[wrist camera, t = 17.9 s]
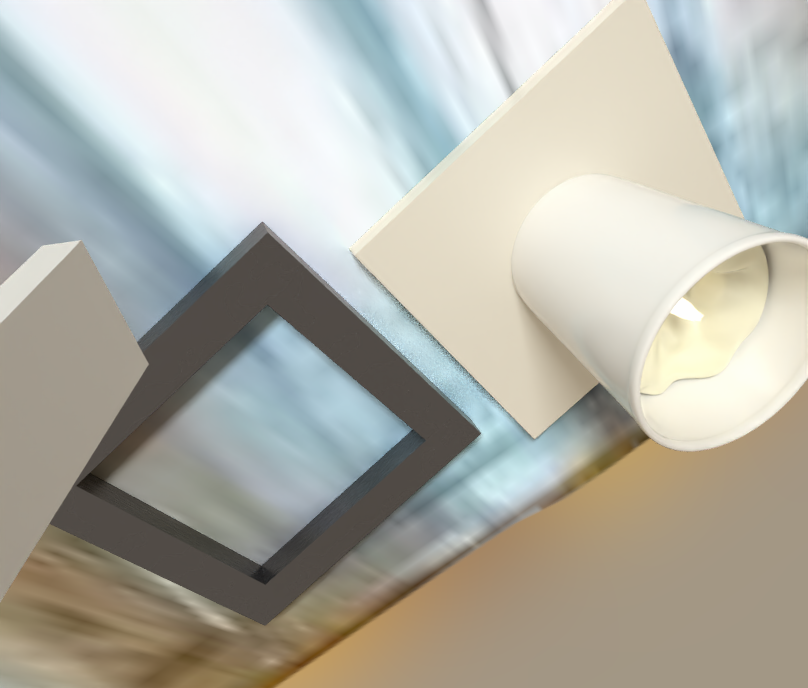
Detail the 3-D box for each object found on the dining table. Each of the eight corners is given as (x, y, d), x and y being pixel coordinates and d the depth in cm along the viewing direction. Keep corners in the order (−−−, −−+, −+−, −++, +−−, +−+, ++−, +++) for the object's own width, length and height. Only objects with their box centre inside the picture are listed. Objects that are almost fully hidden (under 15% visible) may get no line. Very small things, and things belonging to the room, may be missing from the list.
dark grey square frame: (262, 221, 31) (267, 232, 30) (470, 419, 41) (481, 433, 40) (-3, 476, 33) (-8, 496, 32) (261, 606, 43) (265, 625, 42)
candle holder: (658, 288, 40) (829, 395, 30) (512, 353, 39) (642, 487, 29) (650, 129, 35) (855, 196, 25) (480, 197, 33) (626, 297, 24)
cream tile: (626, -14, 32) (639, -13, 31) (743, 238, 42) (756, 244, 41) (348, 248, 33) (354, 255, 33) (526, 430, 44) (534, 439, 43)
